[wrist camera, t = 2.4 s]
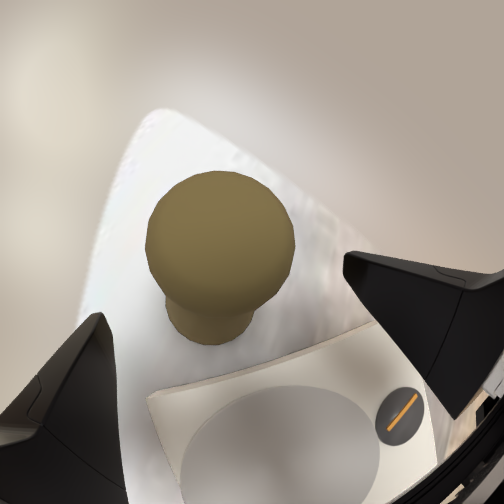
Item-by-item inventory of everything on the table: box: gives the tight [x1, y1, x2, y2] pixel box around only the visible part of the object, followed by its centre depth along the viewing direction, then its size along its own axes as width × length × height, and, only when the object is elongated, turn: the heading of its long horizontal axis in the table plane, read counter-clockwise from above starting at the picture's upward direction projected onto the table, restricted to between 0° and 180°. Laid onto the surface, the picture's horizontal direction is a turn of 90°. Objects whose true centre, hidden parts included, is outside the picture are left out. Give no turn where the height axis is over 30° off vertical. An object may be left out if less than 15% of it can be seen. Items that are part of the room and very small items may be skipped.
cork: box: [145, 171, 295, 345], centre depth 13 cm, size 6×6×11 cm
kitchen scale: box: [145, 320, 437, 504], centre depth 13 cm, size 13×16×5 cm
